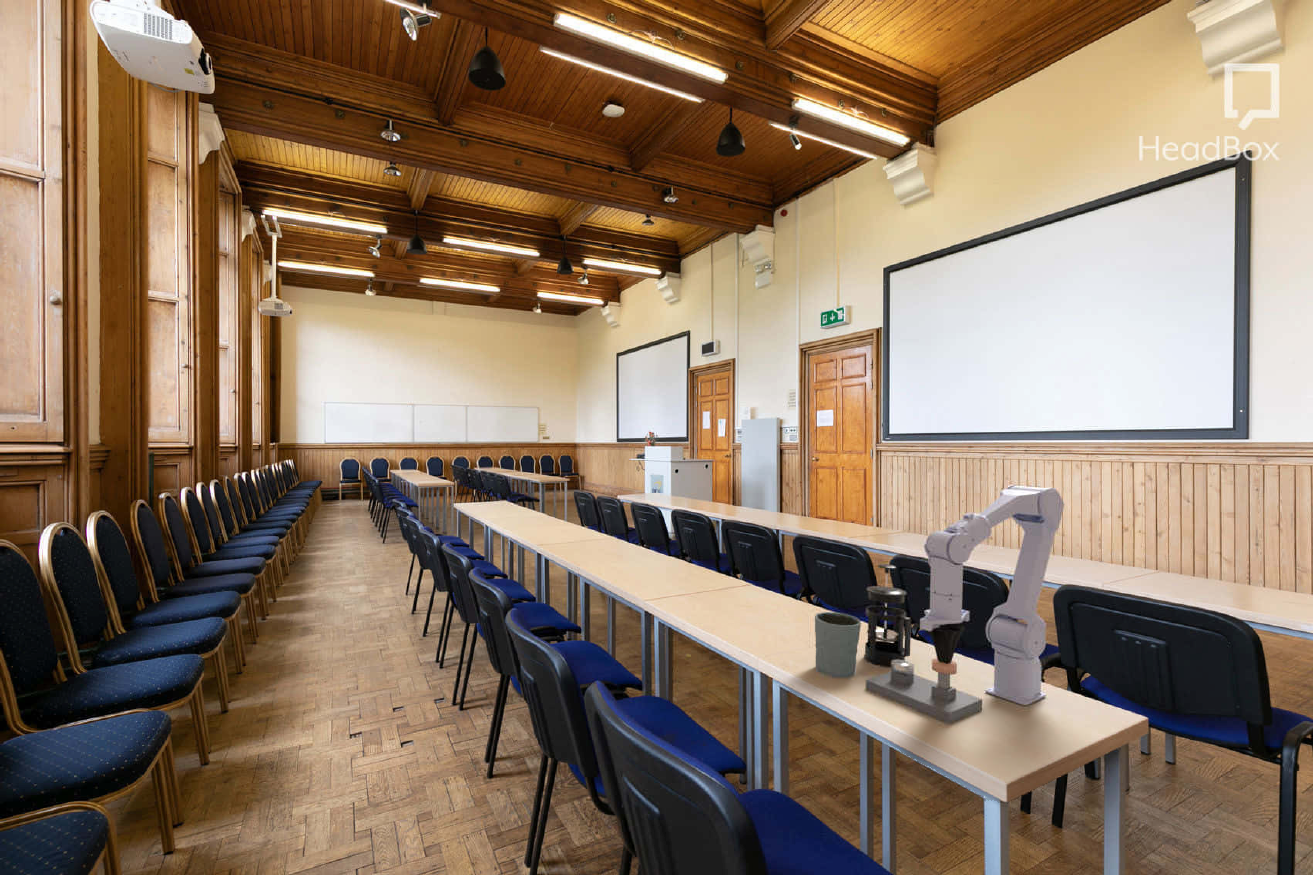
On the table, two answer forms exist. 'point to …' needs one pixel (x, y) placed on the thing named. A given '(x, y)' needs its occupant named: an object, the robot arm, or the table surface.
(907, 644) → the french press
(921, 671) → the table surface
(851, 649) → the grey green cup
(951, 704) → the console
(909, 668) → the steel plunger
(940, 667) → the peach knob
